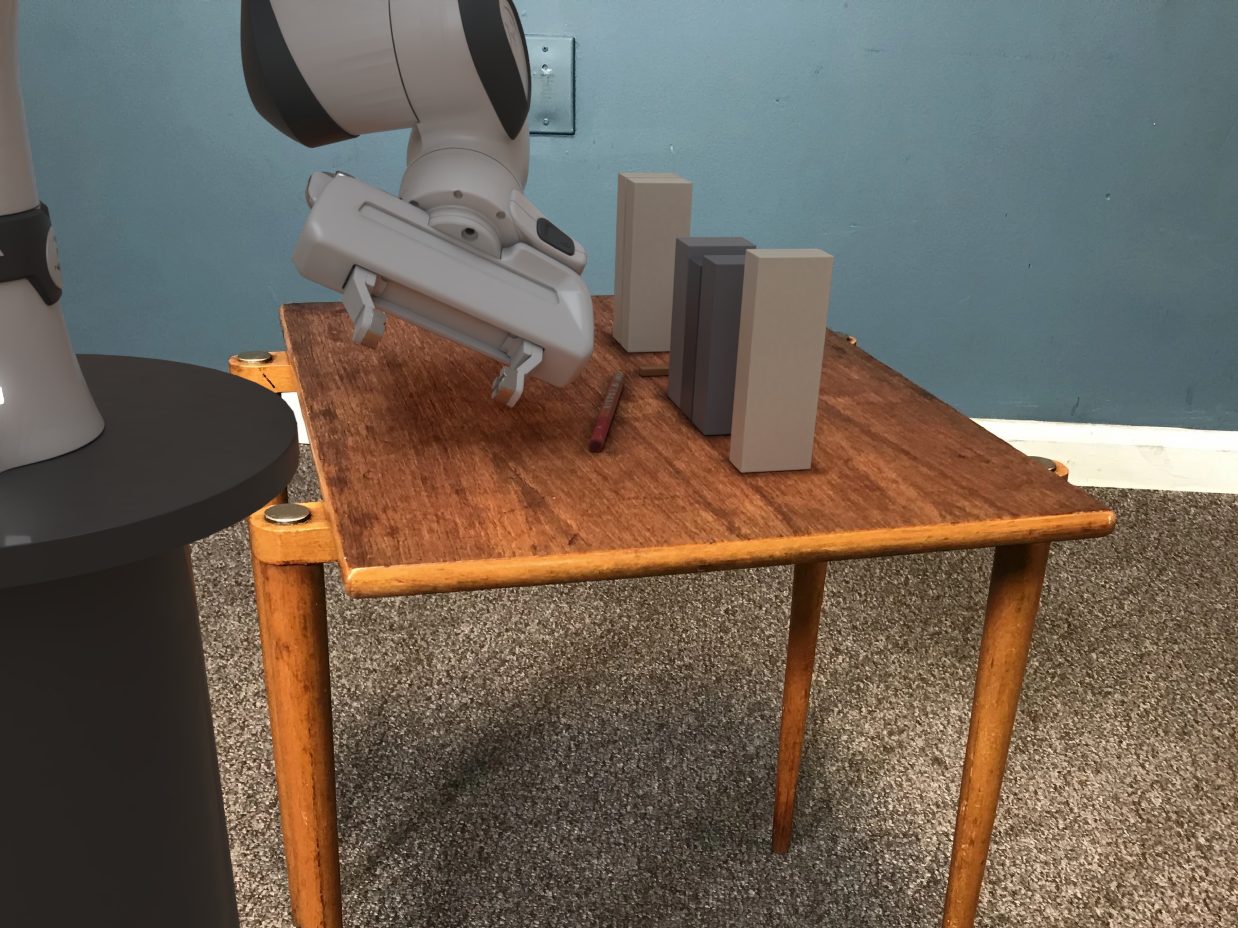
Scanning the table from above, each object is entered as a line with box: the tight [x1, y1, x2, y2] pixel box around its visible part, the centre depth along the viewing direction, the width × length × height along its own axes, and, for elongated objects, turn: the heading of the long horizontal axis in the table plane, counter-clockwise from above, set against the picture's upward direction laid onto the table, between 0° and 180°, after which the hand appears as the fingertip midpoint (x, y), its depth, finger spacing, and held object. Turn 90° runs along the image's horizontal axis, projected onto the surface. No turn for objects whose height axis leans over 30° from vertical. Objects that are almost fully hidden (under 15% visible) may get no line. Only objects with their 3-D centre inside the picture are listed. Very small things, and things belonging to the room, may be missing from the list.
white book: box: [728, 248, 835, 474], centre depth 83 cm, size 5×2×14 cm, turn 105°
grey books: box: [667, 236, 757, 436], centre depth 93 cm, size 5×10×12 cm, turn 15°
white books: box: [612, 171, 694, 377], centre depth 106 cm, size 6×13×14 cm, turn 15°
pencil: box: [587, 369, 626, 453], centre depth 95 cm, size 19×1×1 cm, turn 176°
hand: (438, 369), depth 80 cm, fingers open, 8 cm apart
